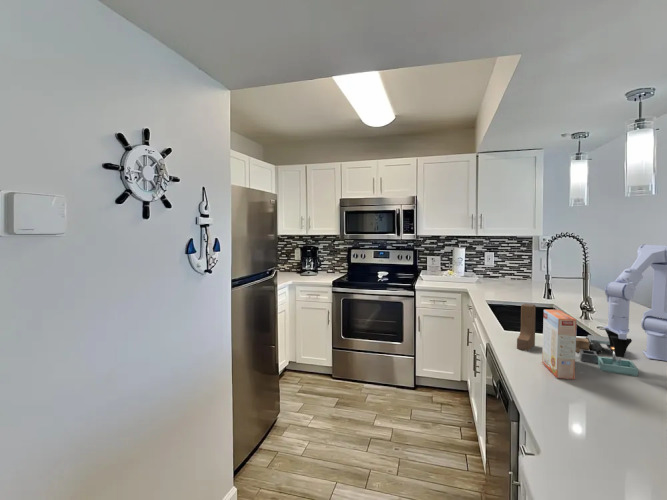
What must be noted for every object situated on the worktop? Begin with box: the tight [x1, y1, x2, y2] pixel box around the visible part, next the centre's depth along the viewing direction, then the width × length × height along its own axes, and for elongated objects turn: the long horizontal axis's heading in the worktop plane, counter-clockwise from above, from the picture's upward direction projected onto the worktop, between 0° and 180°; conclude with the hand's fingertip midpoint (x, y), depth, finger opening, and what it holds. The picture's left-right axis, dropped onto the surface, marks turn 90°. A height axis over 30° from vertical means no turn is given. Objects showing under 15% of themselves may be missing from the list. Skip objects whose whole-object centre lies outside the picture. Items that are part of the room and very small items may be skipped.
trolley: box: [584, 334, 613, 355], centre depth 142 cm, size 11×11×5 cm
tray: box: [597, 356, 639, 377], centre depth 125 cm, size 10×8×2 cm
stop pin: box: [611, 346, 622, 366], centre depth 125 cm, size 4×4×7 cm
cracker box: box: [541, 309, 578, 380], centre depth 124 cm, size 14×6×21 cm, turn 167°
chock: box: [575, 337, 589, 354], centre depth 143 cm, size 5×4×5 cm
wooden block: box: [516, 303, 536, 352], centre depth 148 cm, size 9×4×18 cm, turn 134°
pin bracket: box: [578, 349, 599, 364], centre depth 134 cm, size 5×5×3 cm
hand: (617, 353), depth 124 cm, fingers open, 7 cm apart
